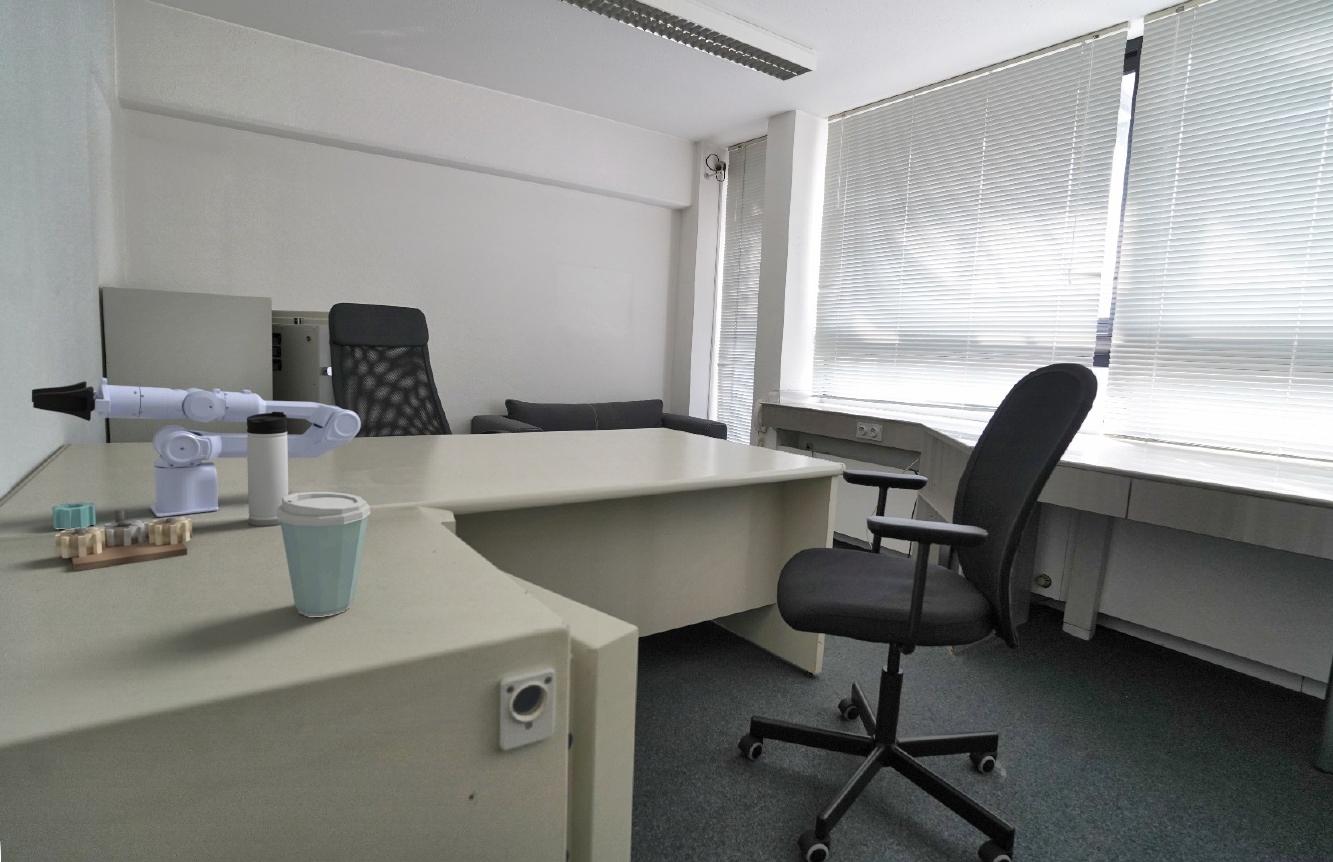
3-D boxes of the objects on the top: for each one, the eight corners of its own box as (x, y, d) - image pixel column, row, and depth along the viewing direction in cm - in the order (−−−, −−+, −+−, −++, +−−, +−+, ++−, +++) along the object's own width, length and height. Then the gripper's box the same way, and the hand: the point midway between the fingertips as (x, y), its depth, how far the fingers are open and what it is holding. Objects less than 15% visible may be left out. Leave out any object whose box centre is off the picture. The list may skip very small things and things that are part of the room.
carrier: (178, 525, 116) (177, 500, 115) (199, 552, 103) (198, 524, 103) (52, 541, 104) (51, 513, 104) (59, 573, 92) (57, 542, 91)
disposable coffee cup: (347, 587, 93) (347, 483, 91) (386, 610, 86) (386, 498, 84) (264, 607, 85) (262, 493, 83) (300, 634, 78) (298, 511, 76)
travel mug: (297, 518, 124) (295, 412, 122) (273, 527, 118) (271, 416, 115) (266, 515, 125) (264, 410, 122) (240, 524, 118) (237, 414, 116)
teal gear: (94, 520, 116) (92, 500, 115) (96, 527, 112) (95, 507, 112) (52, 524, 112) (51, 504, 112) (54, 532, 109) (53, 511, 108)
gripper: (133, 376, 123) (32, 370, 113) (144, 384, 113) (35, 378, 103) (131, 414, 124) (30, 411, 114) (142, 425, 113) (33, 422, 104)
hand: (32, 398), depth 109 cm, fingers open, 7 cm apart
